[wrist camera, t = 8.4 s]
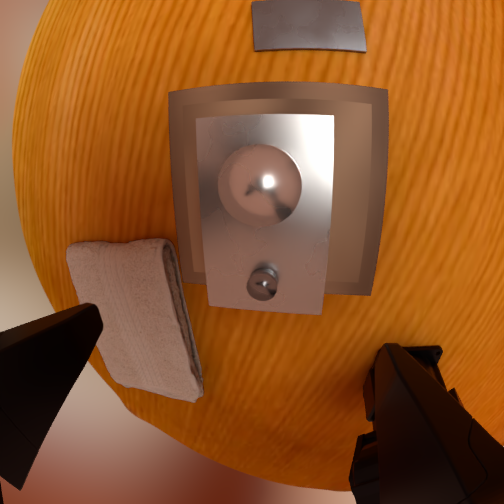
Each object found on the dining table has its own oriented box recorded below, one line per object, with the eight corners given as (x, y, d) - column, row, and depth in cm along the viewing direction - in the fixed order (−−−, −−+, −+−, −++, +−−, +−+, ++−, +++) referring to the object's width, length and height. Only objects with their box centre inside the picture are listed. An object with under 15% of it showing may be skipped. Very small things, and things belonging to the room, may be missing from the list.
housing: (318, 269, 16) (321, 329, 11) (233, 264, 17) (201, 318, 12) (325, 123, 13) (336, 112, 8) (228, 123, 14) (184, 116, 9)
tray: (374, 97, 14) (389, 88, 11) (362, 273, 19) (371, 297, 16) (188, 98, 16) (166, 91, 13) (198, 263, 21) (181, 284, 18)
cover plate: (357, 7, 12) (359, 2, 11) (363, 55, 14) (366, 51, 13) (254, 7, 13) (251, 1, 12) (257, 54, 15) (254, 50, 14)
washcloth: (125, 373, 30) (113, 390, 27) (73, 237, 23) (52, 249, 20) (213, 391, 27) (204, 412, 25) (176, 231, 21) (157, 246, 18)
